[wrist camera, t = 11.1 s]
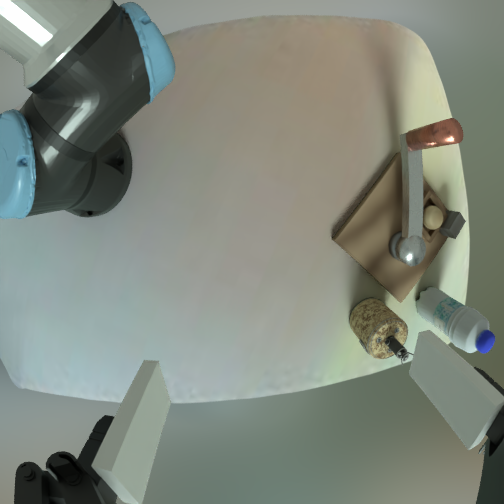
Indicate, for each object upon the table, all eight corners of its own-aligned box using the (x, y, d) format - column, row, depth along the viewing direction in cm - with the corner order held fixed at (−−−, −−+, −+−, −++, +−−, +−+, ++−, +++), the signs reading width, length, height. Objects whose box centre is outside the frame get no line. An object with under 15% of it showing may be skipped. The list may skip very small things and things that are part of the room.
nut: (413, 217, 40) (427, 219, 37) (425, 200, 40) (438, 201, 36) (426, 232, 41) (439, 236, 37) (437, 215, 40) (450, 217, 37)
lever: (417, 262, 40) (463, 283, 28) (394, 263, 40) (438, 287, 28) (417, 134, 35) (465, 122, 23) (393, 130, 35) (440, 114, 23)
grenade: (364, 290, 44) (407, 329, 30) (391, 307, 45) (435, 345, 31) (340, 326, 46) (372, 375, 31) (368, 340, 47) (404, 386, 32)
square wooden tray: (331, 239, 42) (343, 245, 37) (396, 153, 40) (413, 149, 34) (397, 300, 45) (412, 311, 40) (451, 221, 42) (469, 225, 37)
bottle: (406, 302, 45) (471, 353, 26) (428, 276, 44) (499, 316, 25) (421, 321, 46) (481, 372, 27) (441, 296, 45) (506, 338, 26)
